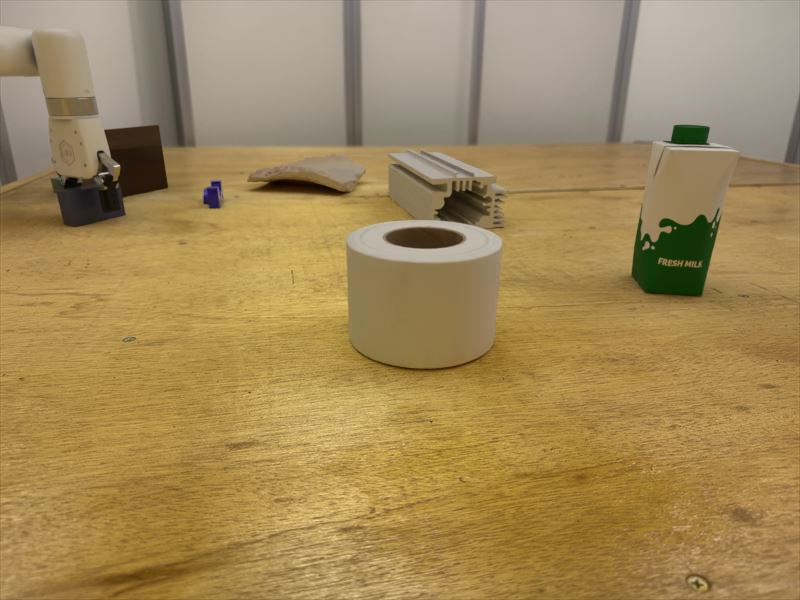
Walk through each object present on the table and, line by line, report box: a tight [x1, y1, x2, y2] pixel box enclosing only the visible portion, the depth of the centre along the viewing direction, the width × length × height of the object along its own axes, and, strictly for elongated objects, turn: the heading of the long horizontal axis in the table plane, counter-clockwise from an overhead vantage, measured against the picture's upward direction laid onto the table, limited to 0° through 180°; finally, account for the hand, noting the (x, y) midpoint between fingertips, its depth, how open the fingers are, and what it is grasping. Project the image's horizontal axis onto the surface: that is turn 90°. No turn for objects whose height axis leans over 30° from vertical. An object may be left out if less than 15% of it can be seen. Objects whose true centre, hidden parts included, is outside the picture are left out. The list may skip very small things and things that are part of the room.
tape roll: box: [345, 219, 503, 369], centre depth 57 cm, size 16×15×11 cm
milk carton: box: [630, 124, 742, 297], centre depth 69 cm, size 9×9×20 cm
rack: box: [50, 124, 169, 198], centre depth 123 cm, size 18×16×14 cm
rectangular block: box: [55, 183, 126, 228], centre depth 100 cm, size 4×10×6 cm, turn 152°
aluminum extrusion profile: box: [387, 148, 510, 230], centre depth 109 cm, size 14×31×10 cm, turn 15°
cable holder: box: [202, 179, 224, 209], centre depth 113 cm, size 8×4×4 cm, turn 11°
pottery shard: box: [246, 153, 367, 192], centre depth 131 cm, size 24×8×20 cm
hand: (94, 208), depth 100 cm, fingers open, 9 cm apart
